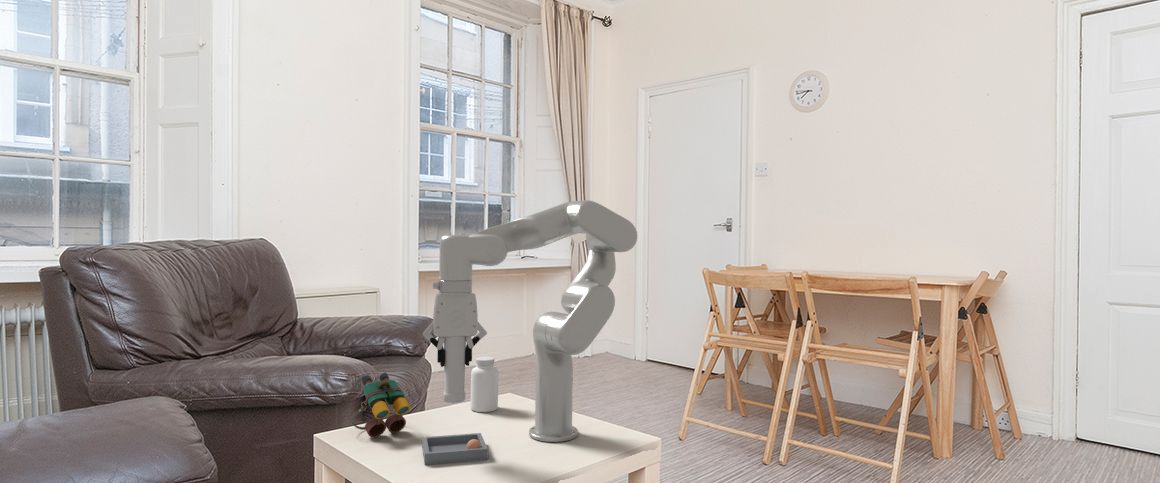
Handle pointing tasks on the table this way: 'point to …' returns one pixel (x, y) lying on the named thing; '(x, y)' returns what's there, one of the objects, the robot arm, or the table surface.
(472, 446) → the ball
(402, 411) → the binoculars
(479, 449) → the tray
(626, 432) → the table surface
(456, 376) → the bottle
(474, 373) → the pill bottle
